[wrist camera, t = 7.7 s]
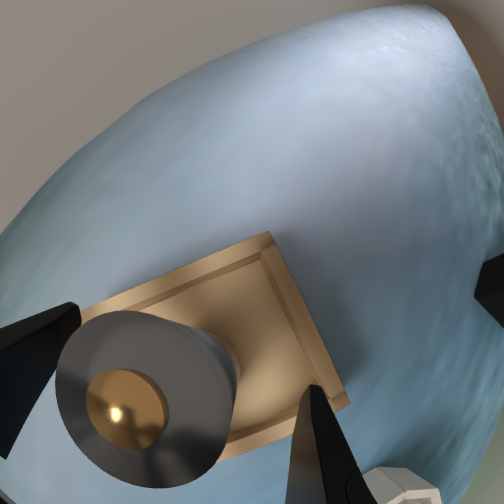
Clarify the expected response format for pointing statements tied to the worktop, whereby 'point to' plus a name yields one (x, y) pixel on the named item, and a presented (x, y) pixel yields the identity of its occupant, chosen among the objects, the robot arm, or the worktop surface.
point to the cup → (400, 487)
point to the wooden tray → (246, 333)
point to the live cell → (147, 396)
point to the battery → (492, 288)
